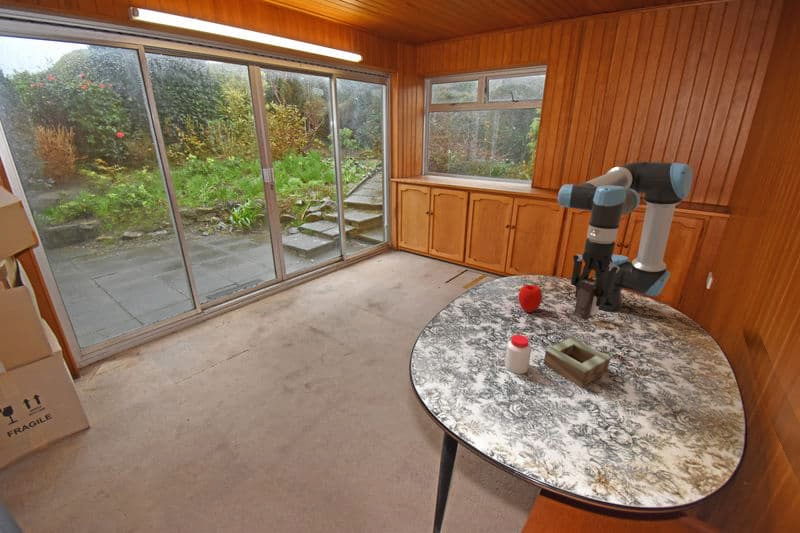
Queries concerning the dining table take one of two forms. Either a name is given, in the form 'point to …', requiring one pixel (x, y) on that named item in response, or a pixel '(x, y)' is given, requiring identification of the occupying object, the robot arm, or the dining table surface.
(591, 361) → the socket block
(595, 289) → the box
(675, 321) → the dining table surface
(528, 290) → the apple
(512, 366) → the pill bottle
